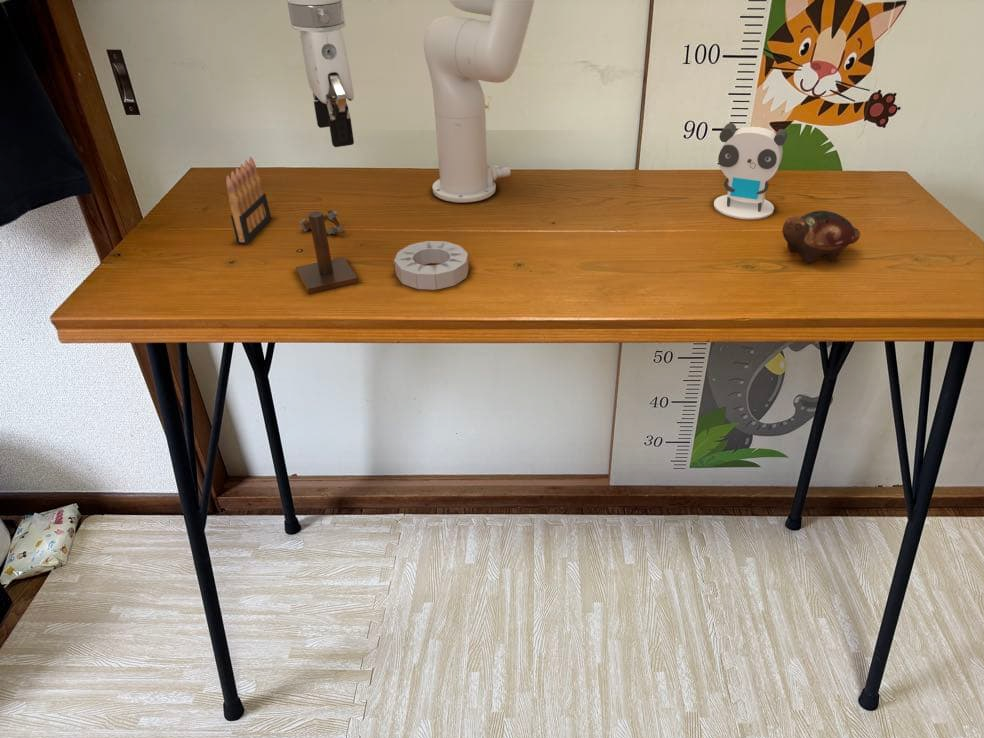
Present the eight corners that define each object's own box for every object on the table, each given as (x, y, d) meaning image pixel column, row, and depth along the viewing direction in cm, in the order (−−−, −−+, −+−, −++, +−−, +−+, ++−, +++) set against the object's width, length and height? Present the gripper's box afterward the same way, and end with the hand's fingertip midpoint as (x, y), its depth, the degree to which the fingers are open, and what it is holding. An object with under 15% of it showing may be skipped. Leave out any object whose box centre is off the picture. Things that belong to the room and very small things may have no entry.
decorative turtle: (760, 252, 133) (770, 207, 129) (828, 242, 139) (840, 199, 134) (796, 274, 126) (808, 227, 122) (867, 263, 131) (881, 218, 127)
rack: (344, 262, 129) (334, 200, 123) (358, 282, 124) (348, 219, 117) (296, 272, 126) (283, 209, 120) (309, 294, 121) (295, 229, 114)
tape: (451, 250, 133) (450, 235, 131) (479, 279, 125) (478, 264, 123) (387, 264, 129) (385, 249, 127) (411, 295, 121) (409, 280, 119)
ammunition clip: (247, 244, 134) (230, 177, 127) (237, 243, 134) (219, 177, 127) (271, 218, 143) (257, 154, 135) (262, 218, 143) (247, 154, 135)
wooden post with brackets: (344, 233, 136) (331, 210, 134) (312, 244, 139) (299, 221, 137) (350, 229, 137) (337, 206, 135) (317, 240, 141) (304, 217, 139)
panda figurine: (704, 212, 146) (716, 133, 137) (717, 191, 154) (728, 115, 145) (768, 223, 143) (784, 142, 133) (777, 200, 151) (793, 123, 142)
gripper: (359, 25, 105) (374, 149, 115) (328, 2, 117) (345, 116, 127) (303, 30, 102) (324, 157, 112) (278, 5, 114) (299, 122, 125)
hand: (335, 135), depth 120 cm, fingers open, 9 cm apart
